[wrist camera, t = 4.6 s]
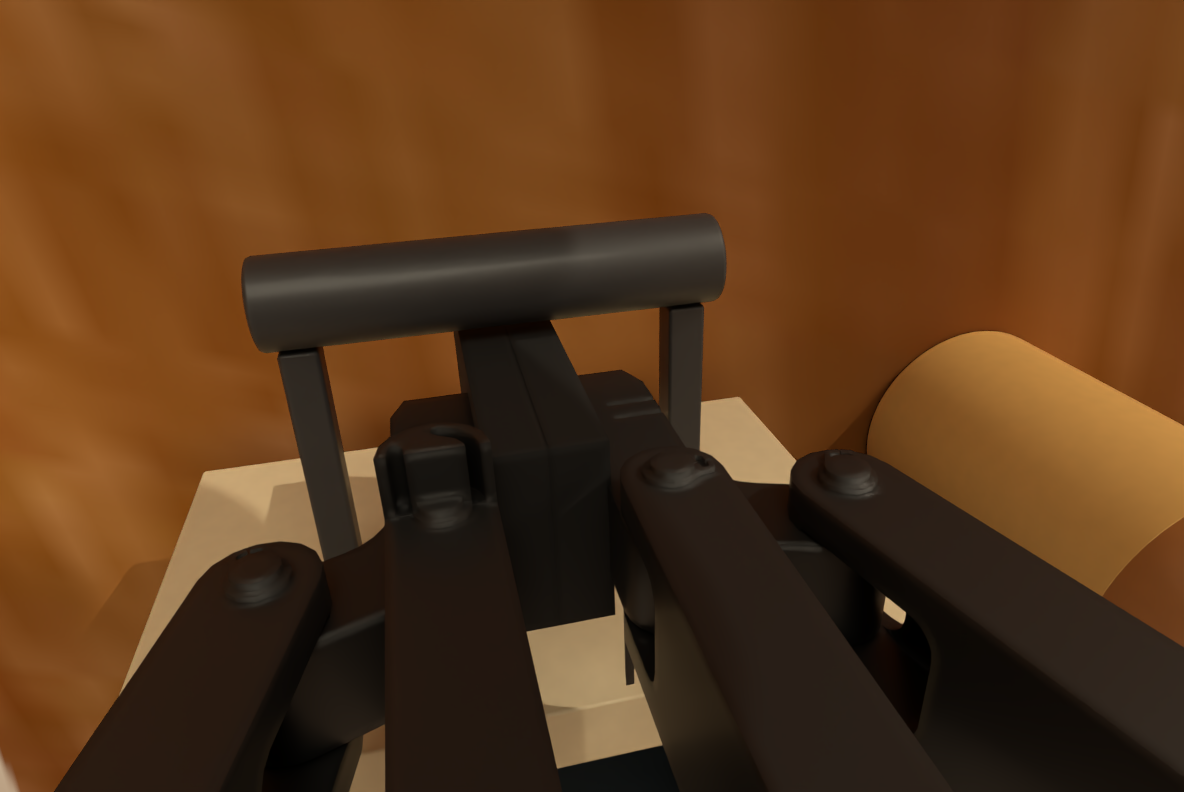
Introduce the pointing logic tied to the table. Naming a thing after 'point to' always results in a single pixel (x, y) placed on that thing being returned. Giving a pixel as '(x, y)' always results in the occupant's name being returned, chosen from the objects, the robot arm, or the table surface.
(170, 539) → the table surface
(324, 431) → the drawer
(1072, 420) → the dome-topped cylinder
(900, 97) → the table surface
